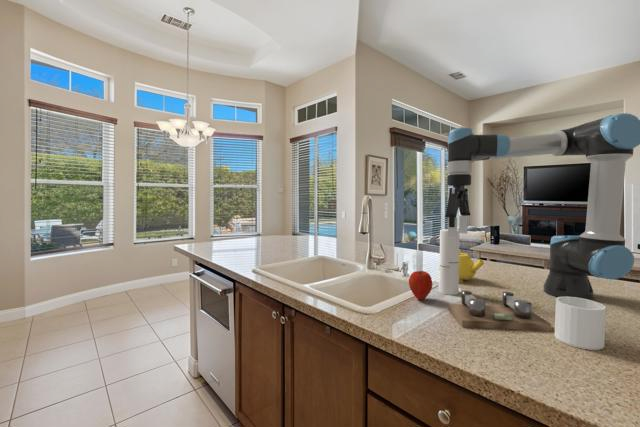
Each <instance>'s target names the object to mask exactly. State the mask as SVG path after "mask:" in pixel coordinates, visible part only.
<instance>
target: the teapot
mask: <svg viewBox="0 0 640 427" xmlns="http://www.w3.org/2000/svg"><path fill="white" fill-rule="evenodd" d="M484 264H485V261H484V260H483V259H480V258H479V259H478V260H477V261H476V262H473V260H472V258H471V257H470V255H469V254H467V253H463V252H462V250H461V249H459V284H462V283H464V281H463V280H465V281H472V278H473V277H474V276H476V272H477V271H478V270H479V269H480V268H481V267H482V266H483V265H484ZM439 268H440V264H439V265H438V269H439Z"/></svg>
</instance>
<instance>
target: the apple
mask: <svg viewBox="0 0 640 427" xmlns="http://www.w3.org/2000/svg"><path fill="white" fill-rule="evenodd" d="M408 286H409V288H410V291H411V292H412V295H414V297H415V298H416V299H417V300H418V301H423V300H425V299H426V298H427V297H428V296H429V294H430V293H431V291H432V289H433V280H432V277H431V275H430V274H429V273H428V272H427V271H425V270H417V271H413V272H412V273H411V274H410V275H409V279H408Z"/></svg>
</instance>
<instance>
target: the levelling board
mask: <svg viewBox="0 0 640 427" xmlns="http://www.w3.org/2000/svg"><path fill="white" fill-rule="evenodd" d="M447 310H448V311H449V313H450V315H452V317H453V318H454V319H455V320H456V322H457V323H458V324H459V325H460V327H461V328H473V329H474V328H476V329H477V328H478V329H479V328H481V329H497V330H498V329H499V330H501V329H502V330H522V331H547V332H548V331H549V332H551V330H552V324H551V323H550V322H549V321H547V320H545V319H544V318H543V317H541V316H540V315H538V314H536V313H535V312H533V311H532V314H531V318H521V317H517V316H515V315H514V309H513V308H511V307H508V306H504V305H491V304H485V316H482V317H480V316H474V315H471V314H470V313H469V306H468V305H464V304H462V303H457V304H456V303H448V304H447Z"/></svg>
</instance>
